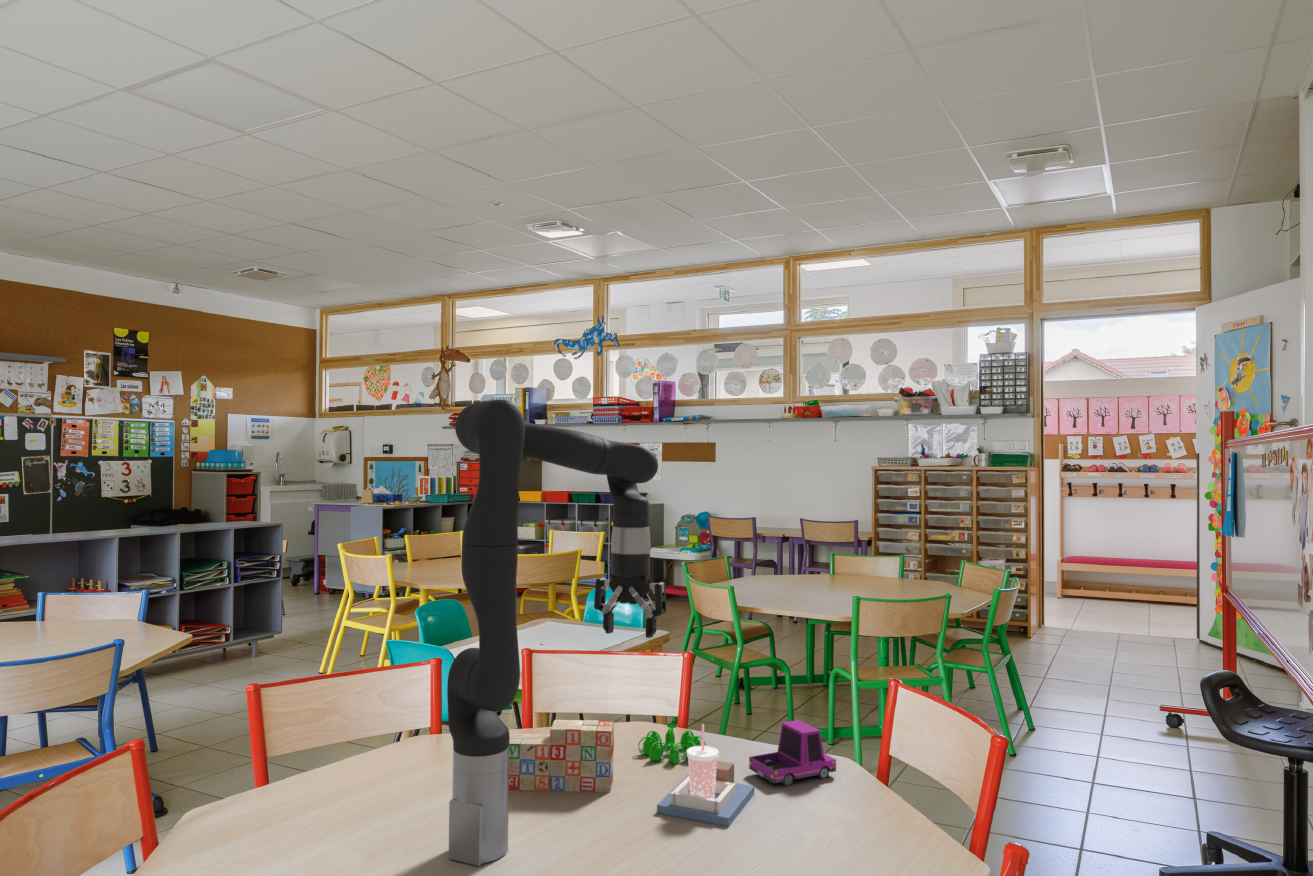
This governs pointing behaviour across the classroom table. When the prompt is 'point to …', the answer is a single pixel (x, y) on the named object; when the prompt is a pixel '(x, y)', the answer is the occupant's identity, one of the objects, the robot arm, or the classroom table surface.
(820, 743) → the toy truck
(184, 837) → the classroom table surface
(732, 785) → the blue square tray
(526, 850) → the classroom table surface
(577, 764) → the stack of blocks
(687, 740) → the chandelier
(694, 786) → the beverage cup
